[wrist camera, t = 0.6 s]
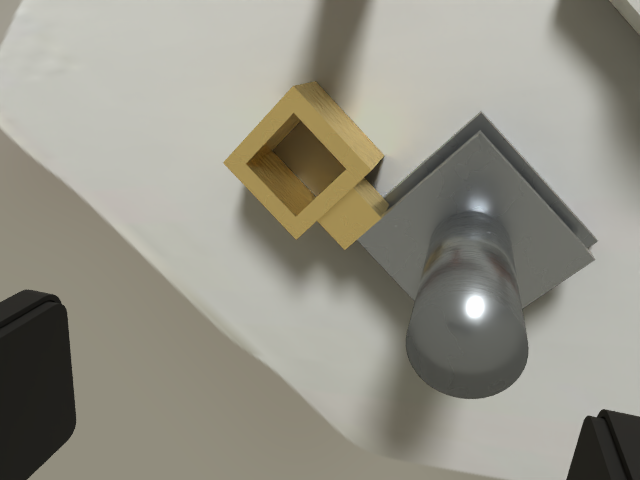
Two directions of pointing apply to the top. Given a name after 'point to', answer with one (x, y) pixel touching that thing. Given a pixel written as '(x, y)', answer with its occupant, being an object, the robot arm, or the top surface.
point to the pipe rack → (629, 11)
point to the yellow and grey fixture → (432, 234)
